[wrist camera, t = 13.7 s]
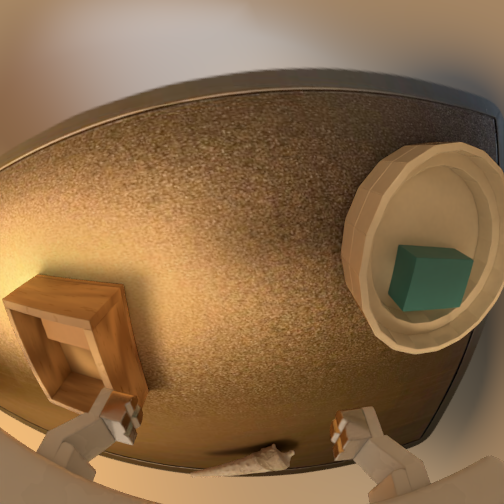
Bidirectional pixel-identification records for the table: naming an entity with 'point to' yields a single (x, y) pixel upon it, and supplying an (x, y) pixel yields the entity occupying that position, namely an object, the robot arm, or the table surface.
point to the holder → (70, 357)
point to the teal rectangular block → (429, 278)
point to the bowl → (426, 238)
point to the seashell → (250, 464)
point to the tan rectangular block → (65, 334)
